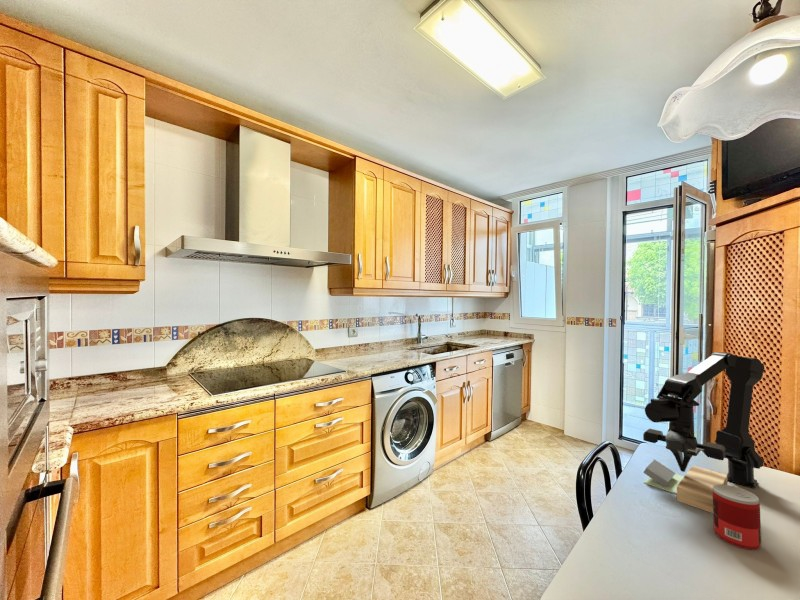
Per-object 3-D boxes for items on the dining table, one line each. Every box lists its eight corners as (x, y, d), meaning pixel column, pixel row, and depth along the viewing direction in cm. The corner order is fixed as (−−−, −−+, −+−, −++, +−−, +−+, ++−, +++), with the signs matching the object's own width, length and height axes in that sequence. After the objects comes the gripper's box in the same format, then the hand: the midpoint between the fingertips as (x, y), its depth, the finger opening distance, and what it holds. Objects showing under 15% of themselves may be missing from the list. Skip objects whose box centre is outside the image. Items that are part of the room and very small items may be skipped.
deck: (693, 477, 107) (692, 465, 107) (727, 488, 101) (727, 475, 101) (677, 500, 94) (676, 486, 95) (715, 513, 88) (714, 498, 88)
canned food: (771, 553, 74) (769, 503, 74) (729, 548, 76) (728, 499, 76) (743, 530, 82) (741, 485, 82) (705, 526, 83) (704, 482, 84)
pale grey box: (675, 473, 106) (672, 477, 106) (654, 459, 110) (651, 464, 111) (668, 482, 100) (665, 487, 101) (646, 467, 105) (643, 472, 105)
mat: (657, 469, 113) (657, 468, 113) (691, 479, 106) (691, 478, 106) (644, 482, 104) (643, 482, 104) (680, 495, 97) (680, 494, 97)
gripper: (637, 417, 104) (638, 467, 103) (718, 435, 89) (720, 493, 89) (648, 410, 111) (649, 457, 110) (725, 426, 96) (727, 480, 96)
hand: (683, 471), depth 101 cm, fingers closed
